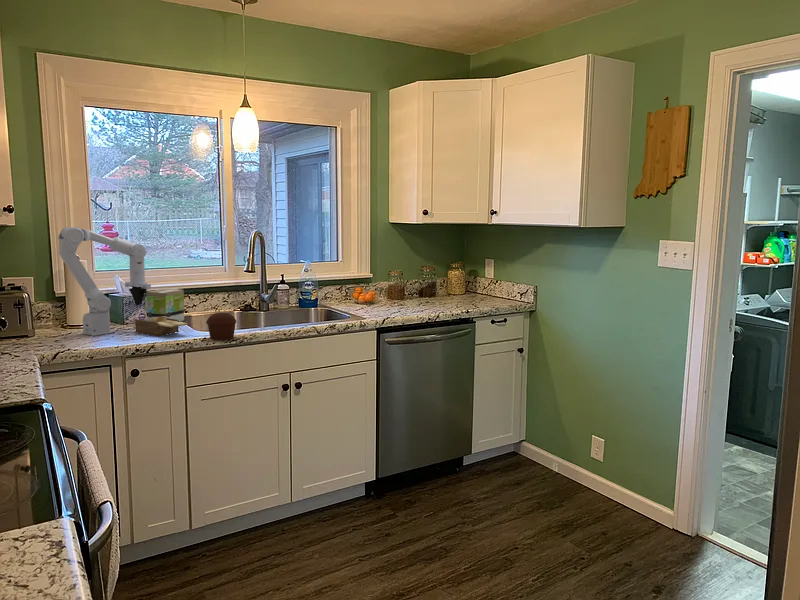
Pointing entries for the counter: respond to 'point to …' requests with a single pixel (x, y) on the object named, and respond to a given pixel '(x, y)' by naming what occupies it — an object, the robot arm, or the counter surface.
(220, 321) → the muffin
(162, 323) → the lid
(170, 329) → the box
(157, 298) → the tea box
